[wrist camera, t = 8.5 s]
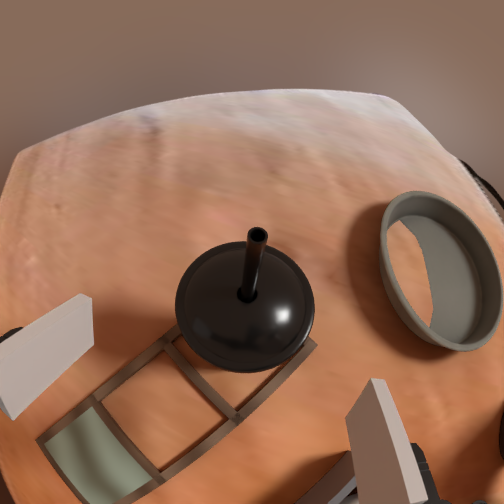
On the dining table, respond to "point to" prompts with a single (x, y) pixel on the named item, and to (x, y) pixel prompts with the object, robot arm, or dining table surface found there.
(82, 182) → the dining table surface
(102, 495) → the board
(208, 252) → the drinking cup
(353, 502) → the white ball
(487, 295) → the cake pan
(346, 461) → the grey square tray
